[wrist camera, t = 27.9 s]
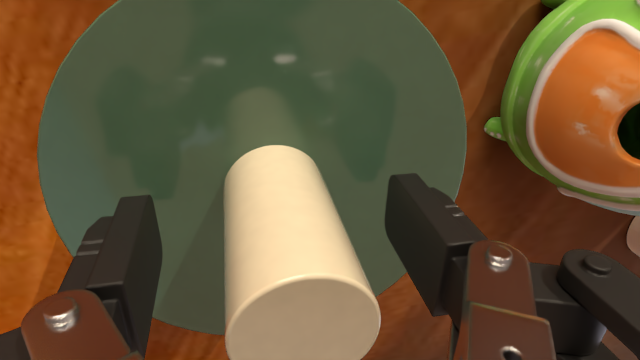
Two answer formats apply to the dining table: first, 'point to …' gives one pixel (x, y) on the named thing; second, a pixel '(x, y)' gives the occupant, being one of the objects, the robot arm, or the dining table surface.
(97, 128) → the lid
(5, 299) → the dining table surface
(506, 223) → the dining table surface
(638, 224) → the cylindrical container
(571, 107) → the turtle holder
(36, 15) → the dining table surface
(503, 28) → the dining table surface
